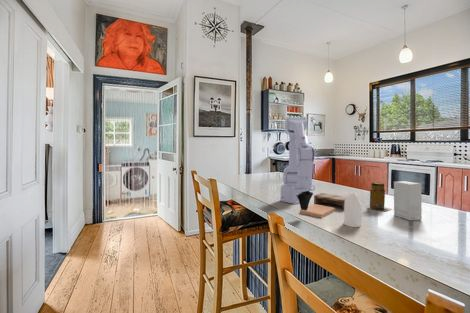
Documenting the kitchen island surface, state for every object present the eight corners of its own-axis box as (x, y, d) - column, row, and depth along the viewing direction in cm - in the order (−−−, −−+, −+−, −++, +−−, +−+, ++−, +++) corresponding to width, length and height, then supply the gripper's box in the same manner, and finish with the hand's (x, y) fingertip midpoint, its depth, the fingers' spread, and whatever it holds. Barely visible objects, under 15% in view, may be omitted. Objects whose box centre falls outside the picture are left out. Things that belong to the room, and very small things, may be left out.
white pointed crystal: (343, 194, 92) (346, 191, 96) (342, 225, 92) (345, 221, 97) (361, 195, 88) (363, 193, 93) (360, 228, 89) (362, 224, 94)
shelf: (314, 204, 123) (314, 195, 123) (321, 201, 129) (321, 192, 128) (344, 210, 113) (344, 200, 112) (350, 206, 118) (351, 197, 118)
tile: (299, 214, 108) (299, 209, 108) (314, 208, 118) (314, 203, 118) (321, 219, 101) (321, 214, 101) (335, 212, 111) (335, 207, 111)
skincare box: (421, 220, 98) (423, 183, 97) (408, 221, 97) (410, 184, 96) (404, 214, 106) (406, 180, 106) (392, 214, 106) (393, 180, 105)
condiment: (372, 205, 121) (373, 181, 120) (391, 209, 114) (392, 183, 114) (365, 208, 116) (366, 183, 115) (385, 212, 110) (386, 185, 109)
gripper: (304, 179, 92) (304, 215, 92) (322, 176, 102) (321, 208, 103) (288, 177, 96) (288, 211, 97) (306, 174, 107) (305, 205, 108)
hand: (304, 209), depth 100 cm, fingers closed
